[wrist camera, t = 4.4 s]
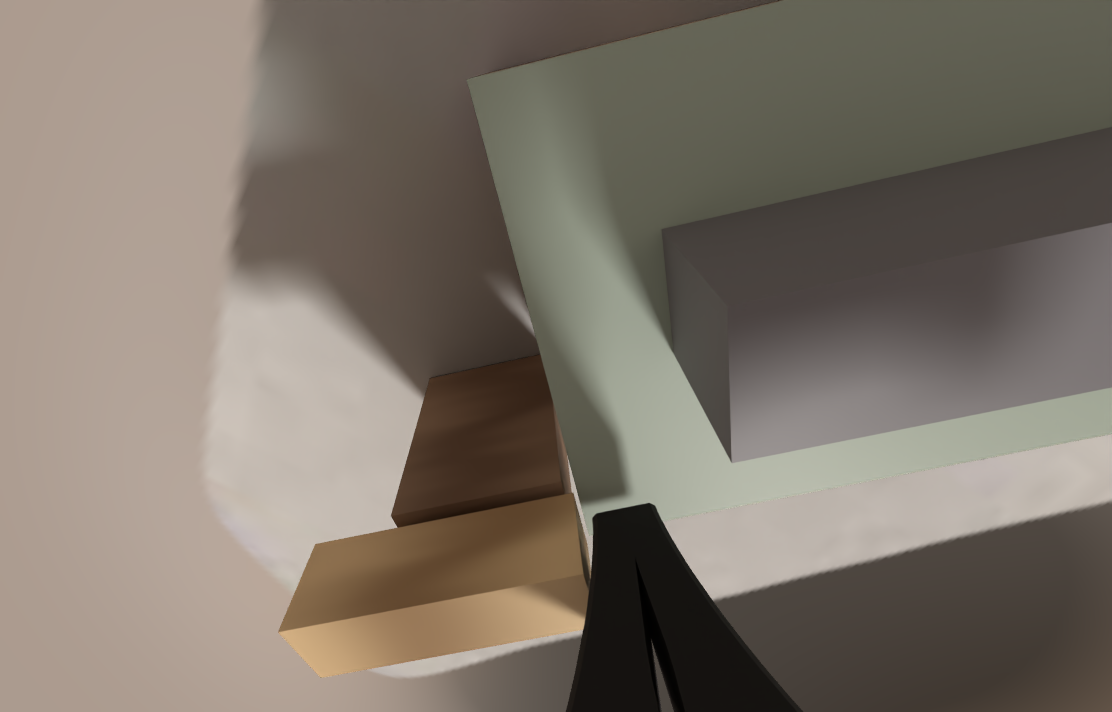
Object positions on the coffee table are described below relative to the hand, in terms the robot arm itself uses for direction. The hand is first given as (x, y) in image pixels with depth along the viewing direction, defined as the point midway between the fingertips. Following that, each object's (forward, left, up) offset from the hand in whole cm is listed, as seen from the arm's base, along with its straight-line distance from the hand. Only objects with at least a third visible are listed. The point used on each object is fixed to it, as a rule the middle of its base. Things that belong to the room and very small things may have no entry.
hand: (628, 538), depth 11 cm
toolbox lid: (-6, -5, -3) cm, 9 cm away
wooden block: (+4, 0, -1) cm, 4 cm away
